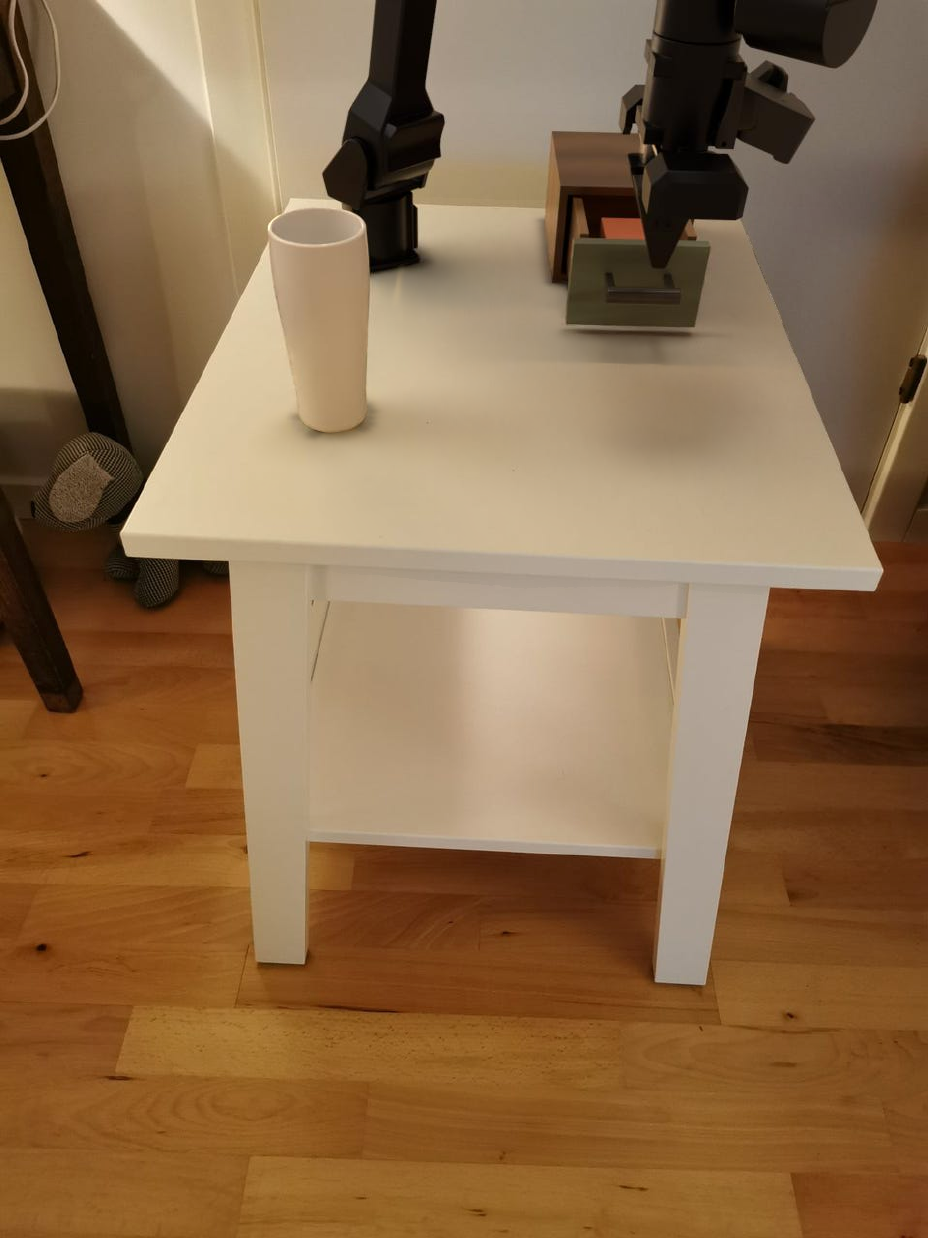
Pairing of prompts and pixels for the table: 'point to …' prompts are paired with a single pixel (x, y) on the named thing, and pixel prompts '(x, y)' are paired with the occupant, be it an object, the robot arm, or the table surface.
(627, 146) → the cabinet
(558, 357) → the table surface
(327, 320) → the drinking glass
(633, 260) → the drawer
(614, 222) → the block
